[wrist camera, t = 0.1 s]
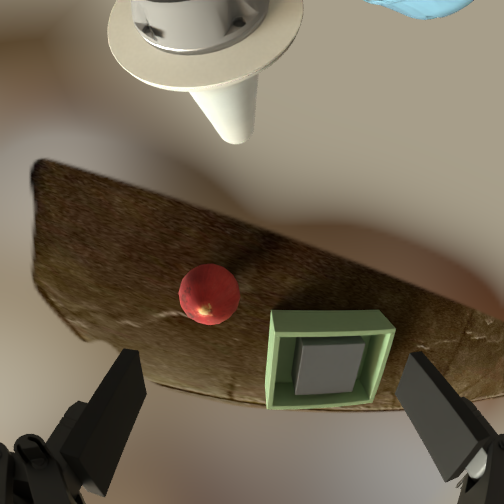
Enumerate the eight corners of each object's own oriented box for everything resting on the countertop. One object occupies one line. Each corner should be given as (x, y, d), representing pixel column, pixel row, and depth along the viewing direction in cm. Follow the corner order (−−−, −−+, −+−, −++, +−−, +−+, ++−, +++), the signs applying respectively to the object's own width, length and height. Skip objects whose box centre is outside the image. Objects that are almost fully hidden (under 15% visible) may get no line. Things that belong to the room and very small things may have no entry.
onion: (205, 313, 32) (193, 352, 25) (177, 271, 31) (155, 300, 23) (250, 290, 32) (250, 326, 24) (223, 245, 30) (214, 268, 23)
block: (297, 326, 32) (303, 345, 28) (354, 326, 32) (365, 343, 29) (290, 374, 34) (295, 395, 30) (343, 372, 34) (352, 391, 30)
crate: (271, 309, 32) (274, 331, 27) (379, 309, 32) (396, 328, 28) (264, 383, 35) (266, 409, 30) (360, 379, 35) (372, 402, 30)
